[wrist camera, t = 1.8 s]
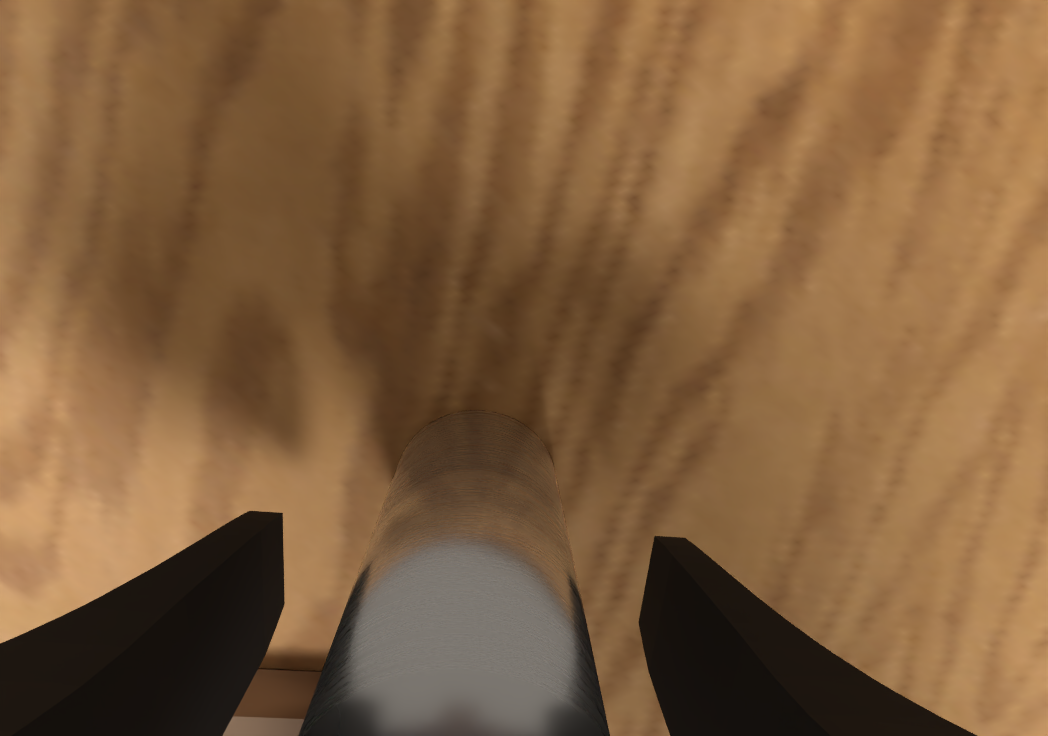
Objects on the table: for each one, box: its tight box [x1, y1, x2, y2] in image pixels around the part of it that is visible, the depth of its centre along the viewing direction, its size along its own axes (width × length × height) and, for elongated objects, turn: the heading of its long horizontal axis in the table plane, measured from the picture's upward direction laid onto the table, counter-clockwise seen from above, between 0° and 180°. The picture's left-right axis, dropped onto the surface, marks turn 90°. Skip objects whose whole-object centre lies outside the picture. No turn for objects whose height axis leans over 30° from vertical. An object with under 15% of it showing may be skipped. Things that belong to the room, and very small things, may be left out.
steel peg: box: [298, 410, 610, 736], centre depth 11 cm, size 4×4×8 cm
